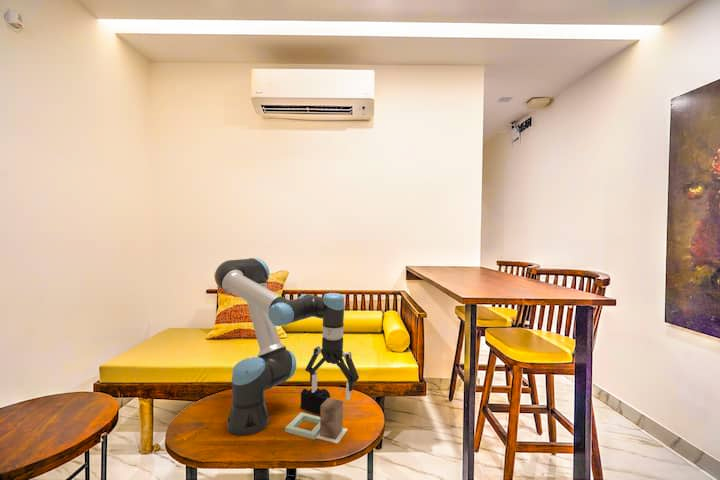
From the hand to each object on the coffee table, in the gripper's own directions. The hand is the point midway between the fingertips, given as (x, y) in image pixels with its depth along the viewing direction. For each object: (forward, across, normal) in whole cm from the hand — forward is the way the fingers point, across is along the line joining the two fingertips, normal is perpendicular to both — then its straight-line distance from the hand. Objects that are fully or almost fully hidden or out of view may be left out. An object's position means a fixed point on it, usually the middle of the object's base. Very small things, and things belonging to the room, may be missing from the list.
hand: (330, 395), depth 121 cm
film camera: (+15, -12, +14) cm, 24 cm away
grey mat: (+14, +1, 0) cm, 14 cm away
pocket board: (+15, -9, 0) cm, 17 cm away
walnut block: (+14, +1, 0) cm, 14 cm away
